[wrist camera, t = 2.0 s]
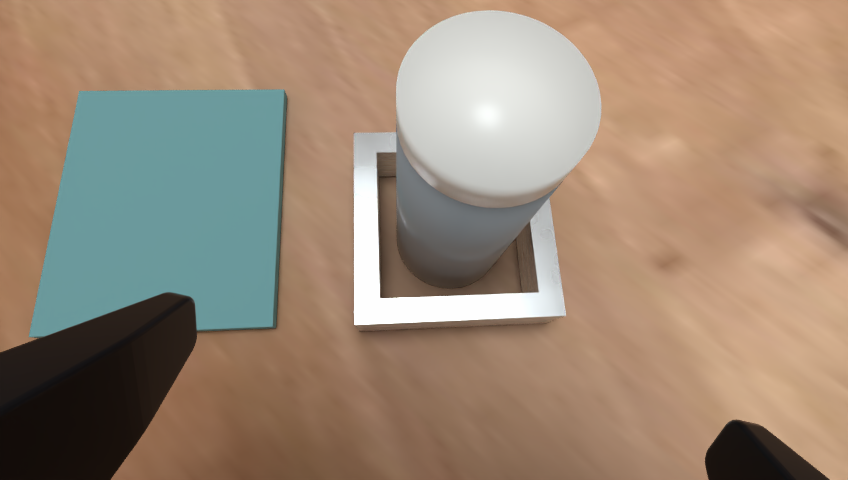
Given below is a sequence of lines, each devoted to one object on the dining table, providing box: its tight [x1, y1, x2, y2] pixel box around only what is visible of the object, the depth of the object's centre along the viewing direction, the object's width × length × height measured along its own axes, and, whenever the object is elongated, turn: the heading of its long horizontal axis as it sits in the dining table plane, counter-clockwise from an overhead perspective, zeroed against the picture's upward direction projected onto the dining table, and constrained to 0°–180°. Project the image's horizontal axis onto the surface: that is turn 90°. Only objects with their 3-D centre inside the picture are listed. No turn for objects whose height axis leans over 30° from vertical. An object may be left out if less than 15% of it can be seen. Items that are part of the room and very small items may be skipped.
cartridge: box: [396, 10, 601, 288], centre depth 16 cm, size 5×5×12 cm
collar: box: [354, 132, 566, 331], centre depth 21 cm, size 9×9×2 cm
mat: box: [29, 90, 287, 338], centre depth 21 cm, size 12×10×1 cm
